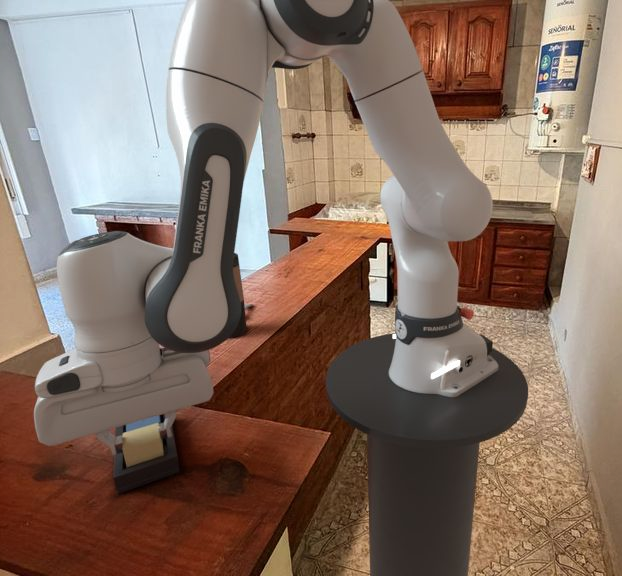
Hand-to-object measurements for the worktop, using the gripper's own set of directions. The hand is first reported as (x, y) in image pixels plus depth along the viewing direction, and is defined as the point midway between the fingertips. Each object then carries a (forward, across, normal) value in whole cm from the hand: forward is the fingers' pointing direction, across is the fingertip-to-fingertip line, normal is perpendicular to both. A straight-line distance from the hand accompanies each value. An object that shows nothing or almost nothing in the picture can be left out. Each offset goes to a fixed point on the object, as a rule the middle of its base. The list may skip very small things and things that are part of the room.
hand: (142, 443), depth 57 cm
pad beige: (+2, 0, 0) cm, 2 cm away
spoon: (+4, -26, -52) cm, 59 cm away
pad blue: (+3, 0, -6) cm, 7 cm away
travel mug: (+4, -20, -41) cm, 46 cm away
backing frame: (+4, 0, -3) cm, 5 cm away
